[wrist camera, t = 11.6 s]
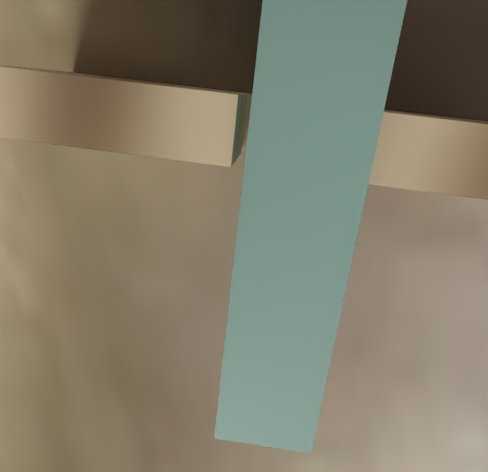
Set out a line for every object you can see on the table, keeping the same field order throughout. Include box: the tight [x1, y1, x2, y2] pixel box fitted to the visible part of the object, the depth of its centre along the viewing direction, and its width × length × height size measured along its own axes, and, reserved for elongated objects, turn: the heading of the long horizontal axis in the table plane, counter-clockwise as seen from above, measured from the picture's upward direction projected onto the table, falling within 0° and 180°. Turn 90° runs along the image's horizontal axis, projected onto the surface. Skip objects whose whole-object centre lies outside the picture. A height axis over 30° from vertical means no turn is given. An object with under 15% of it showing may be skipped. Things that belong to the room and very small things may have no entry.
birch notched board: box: [0, 65, 488, 200], centre depth 15 cm, size 20×2×7 cm, turn 84°
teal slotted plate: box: [214, 0, 407, 453], centre depth 13 cm, size 2×14×11 cm, turn 174°
